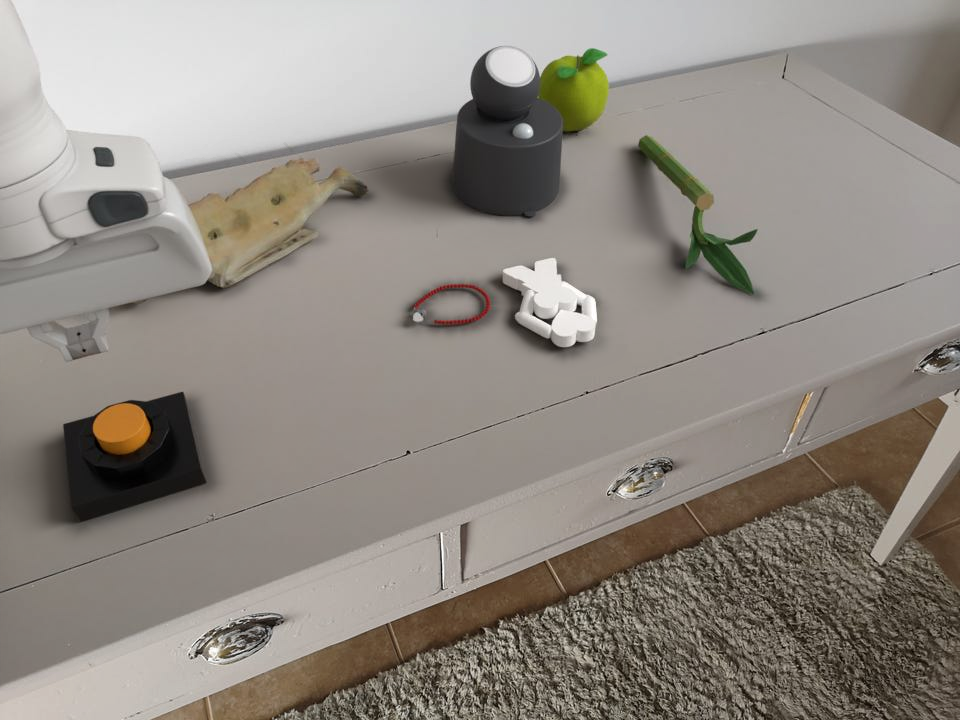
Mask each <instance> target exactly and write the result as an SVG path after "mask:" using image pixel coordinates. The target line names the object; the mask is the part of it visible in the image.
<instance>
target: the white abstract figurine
mask: <svg viewBox="0 0 960 720" xmlns="http://www.w3.org/2000/svg"><path fill="white" fill-rule="evenodd" d="M502 284H504V285H506V286H508V287H510V288H512V289H514V290H516V291H519V292H521V296H522V297H523V298H522V301H521V305H520V308H519V311H518V312H515V315H514V320H515V321H516V322H517V323H518V324H520V325H521V326H522V327H525V328H527V329H528V330H530V331H532V332H534V333H536V334H537V335H539V336H541V337H543V338H545V339H551V341H552V343H553V344H554V345H555V346H557V347H559V348H568V347H572V346H574V345H575V344H576V342H579V343H587V342H590V341H592V340H593V339H594V338H595V334H596V327H597V323H598V316H597V303H596V302H597V301H596V299H595V298H594V297H593V296H591V295H589V294H586V293H583V292H582V291H581V290H579V289H577V288H576V287H575V286H573V285H571V284H570V283H568V282H566V281H564V280H562V274H561V273H559V274H558V268H557V259H556V258H555V257H549V258H545V259H541V260H537V261H535V263H534V270H532V269H531V268H528V267H527V266H524V265H521V264H520V265H515V266H511V267H507V268H504V269H503V270H502ZM577 306H580V307H581V312H576V310H577ZM533 314H534V315H536V316H537V317H538V318H537V317H536V316H534V315H533ZM542 319H543V320H544V319H545V320H549V319H553V320H552V322H551V324H549V323H547V322H545V321H543V320H542Z"/></svg>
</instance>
